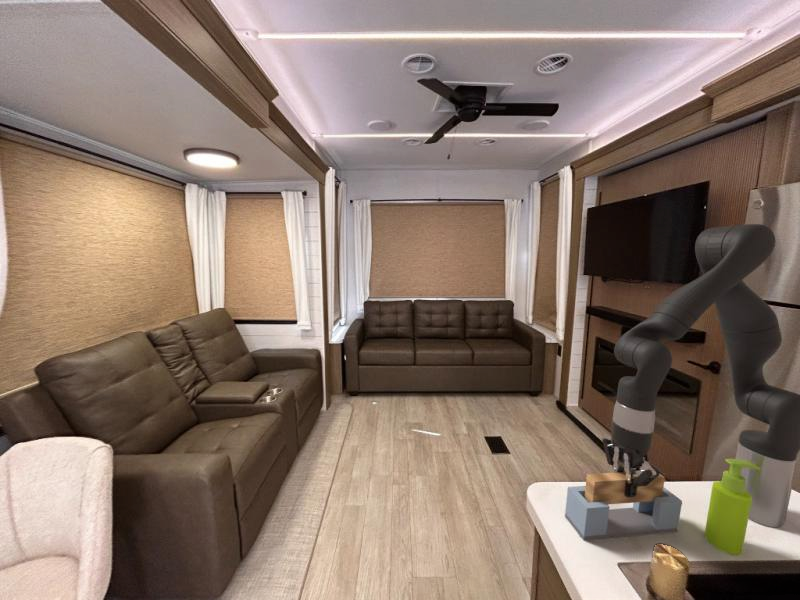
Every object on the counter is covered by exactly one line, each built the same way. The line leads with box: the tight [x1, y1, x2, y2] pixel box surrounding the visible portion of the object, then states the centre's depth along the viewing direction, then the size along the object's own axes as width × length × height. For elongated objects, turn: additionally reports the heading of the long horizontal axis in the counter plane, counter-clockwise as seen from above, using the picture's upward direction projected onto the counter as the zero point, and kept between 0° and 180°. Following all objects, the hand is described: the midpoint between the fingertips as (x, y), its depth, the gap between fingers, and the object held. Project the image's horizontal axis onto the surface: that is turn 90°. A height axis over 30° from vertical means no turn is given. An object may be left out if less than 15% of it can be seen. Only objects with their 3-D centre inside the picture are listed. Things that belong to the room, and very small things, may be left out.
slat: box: [584, 471, 666, 505], centre depth 72 cm, size 18×2×6 cm, turn 97°
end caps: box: [564, 485, 683, 541], centre depth 73 cm, size 24×6×8 cm, turn 97°
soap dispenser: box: [704, 458, 762, 556], centre depth 68 cm, size 6×7×20 cm
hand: (623, 491), depth 72 cm, fingers closed on slat, 2 cm apart
